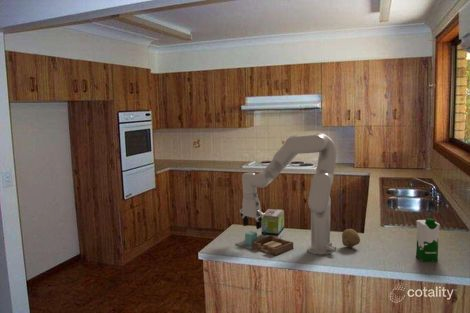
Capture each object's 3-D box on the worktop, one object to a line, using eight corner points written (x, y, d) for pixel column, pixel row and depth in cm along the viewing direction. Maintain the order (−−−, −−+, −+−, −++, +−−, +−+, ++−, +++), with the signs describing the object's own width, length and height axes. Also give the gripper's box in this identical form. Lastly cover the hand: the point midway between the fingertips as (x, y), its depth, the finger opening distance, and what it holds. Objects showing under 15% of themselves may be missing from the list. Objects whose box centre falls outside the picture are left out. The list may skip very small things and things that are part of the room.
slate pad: (266, 244, 220) (266, 243, 220) (251, 250, 212) (251, 249, 212) (250, 239, 229) (250, 238, 229) (235, 244, 221) (235, 243, 221)
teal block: (257, 243, 220) (256, 232, 219) (251, 245, 217) (251, 234, 216) (251, 241, 223) (250, 231, 223) (245, 243, 220) (245, 233, 220)
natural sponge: (361, 246, 213) (361, 227, 212) (357, 251, 205) (357, 232, 204) (344, 243, 217) (344, 225, 216) (339, 249, 210) (339, 230, 209)
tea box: (278, 242, 223) (278, 216, 221) (261, 240, 226) (260, 215, 224) (284, 234, 237) (284, 209, 235) (267, 232, 240) (267, 208, 238)
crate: (293, 248, 212) (293, 242, 212) (275, 256, 203) (275, 249, 202) (270, 241, 224) (270, 235, 223) (252, 248, 214) (252, 242, 214)
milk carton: (422, 262, 190) (423, 220, 187) (413, 255, 199) (414, 215, 196) (440, 261, 190) (442, 220, 187) (430, 254, 199) (432, 214, 196)
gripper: (267, 196, 213) (269, 227, 215) (243, 192, 226) (245, 222, 228) (257, 198, 208) (259, 231, 210) (234, 195, 221) (236, 226, 223)
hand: (252, 227), depth 219 cm, fingers open, 9 cm apart
